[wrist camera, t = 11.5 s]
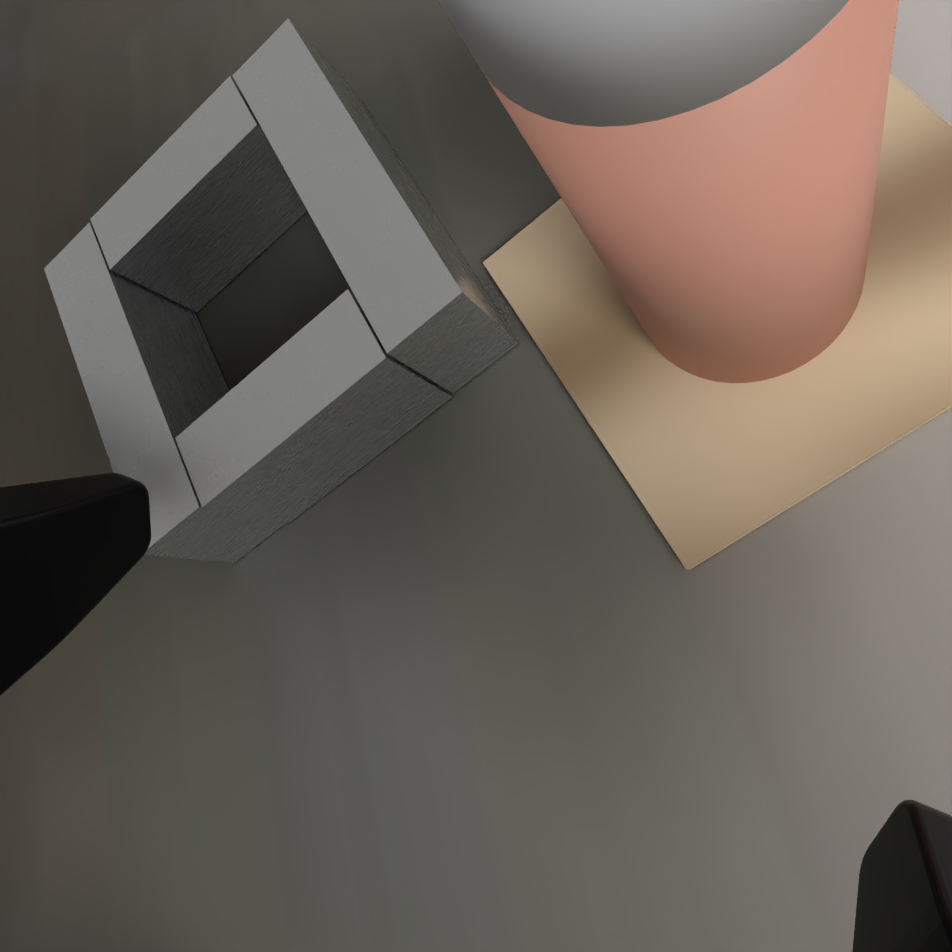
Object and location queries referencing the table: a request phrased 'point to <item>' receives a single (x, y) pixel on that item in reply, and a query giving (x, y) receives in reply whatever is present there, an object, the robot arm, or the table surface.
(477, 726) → the table surface
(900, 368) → the cork pad
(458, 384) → the bore block
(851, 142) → the pink and grey cylinder
